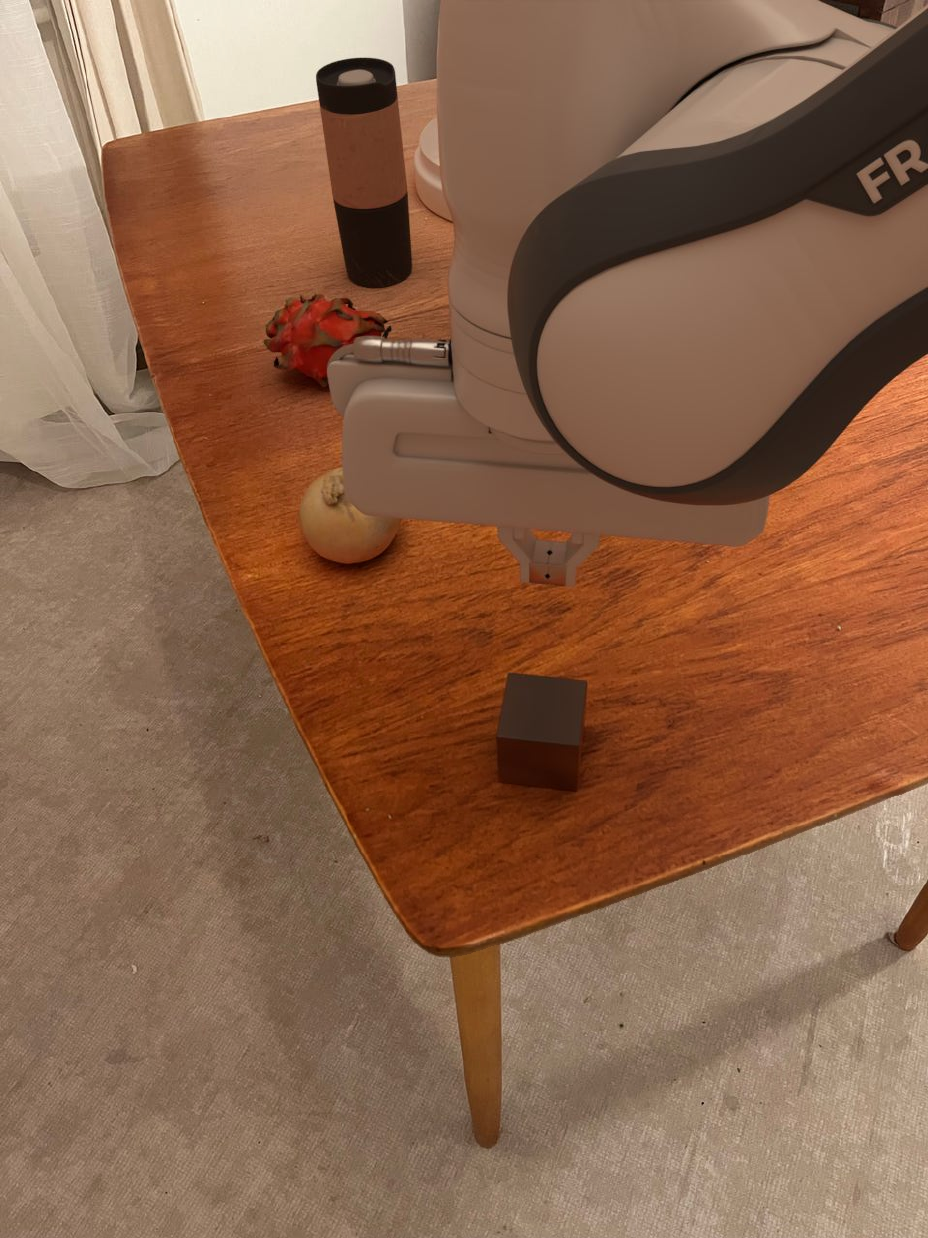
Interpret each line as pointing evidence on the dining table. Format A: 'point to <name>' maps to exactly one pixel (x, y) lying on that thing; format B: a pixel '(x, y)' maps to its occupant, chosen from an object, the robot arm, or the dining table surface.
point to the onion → (342, 523)
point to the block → (541, 731)
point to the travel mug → (367, 168)
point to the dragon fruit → (318, 333)
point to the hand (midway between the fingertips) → (549, 576)
